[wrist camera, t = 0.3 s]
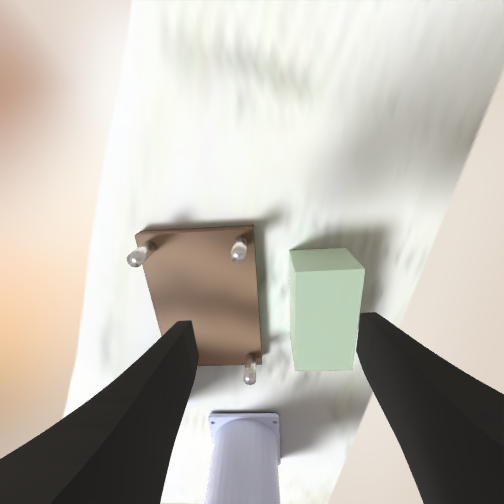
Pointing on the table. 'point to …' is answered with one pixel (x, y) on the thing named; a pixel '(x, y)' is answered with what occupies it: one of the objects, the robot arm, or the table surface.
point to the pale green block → (324, 308)
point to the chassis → (206, 289)
